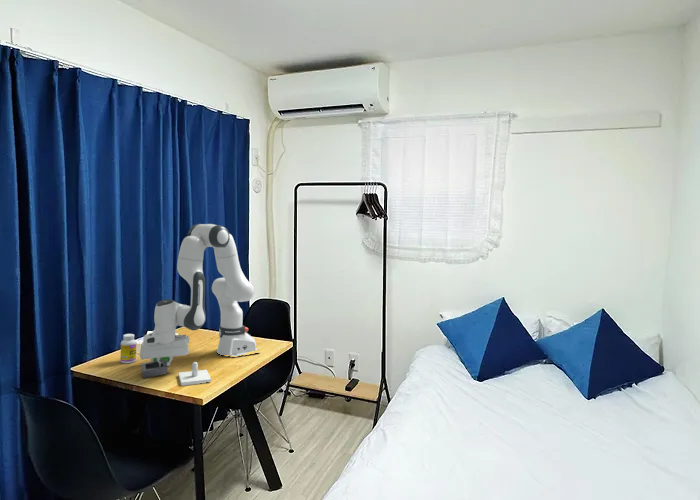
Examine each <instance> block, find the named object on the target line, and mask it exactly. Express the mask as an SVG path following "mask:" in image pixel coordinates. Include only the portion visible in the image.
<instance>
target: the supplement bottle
mask: <svg viewBox="0 0 700 500" xmlns="http://www.w3.org/2000/svg"><path fill="white" fill-rule="evenodd" d="M119 357H120V362H121V364H132V363H135V362H136V360H137V340H136V339H135V334H134V333H125V334H123V337H122V340H121V342H120V356H119Z"/></svg>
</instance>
